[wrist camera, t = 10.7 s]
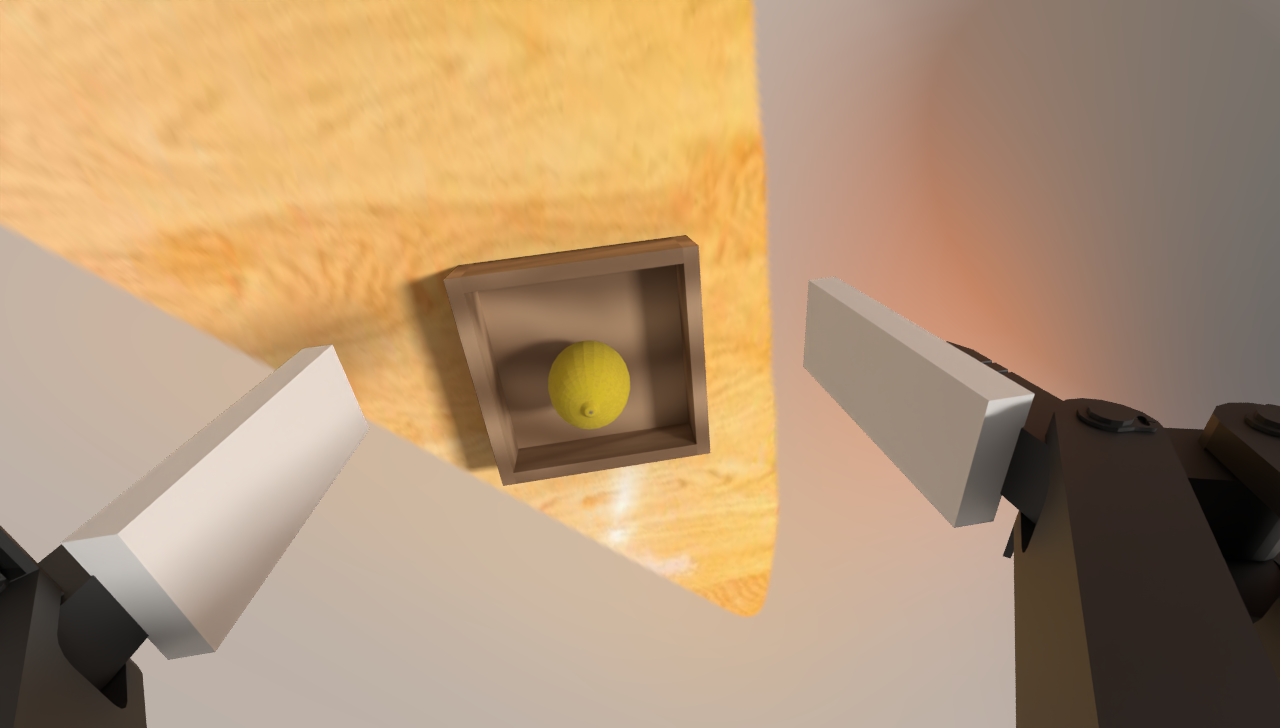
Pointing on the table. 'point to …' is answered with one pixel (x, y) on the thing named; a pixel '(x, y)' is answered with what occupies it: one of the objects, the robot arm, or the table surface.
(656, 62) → the table surface
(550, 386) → the lemon
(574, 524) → the table surface
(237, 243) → the table surface
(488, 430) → the walnut bin
